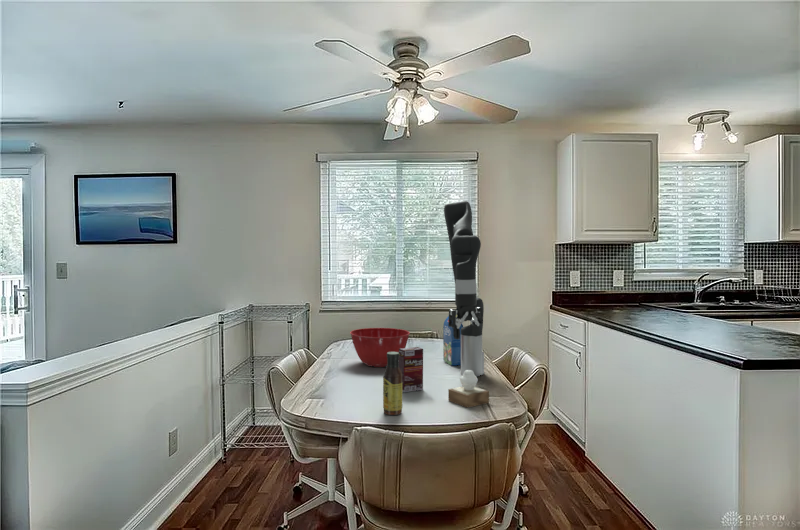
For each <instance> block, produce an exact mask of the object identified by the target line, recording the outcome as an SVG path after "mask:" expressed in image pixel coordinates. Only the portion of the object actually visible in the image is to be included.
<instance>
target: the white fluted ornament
mask: <svg viewBox="0 0 800 530" xmlns="http://www.w3.org/2000/svg"><path fill="white" fill-rule="evenodd" d="M478 379H479V378H478V376H475V375H474V372H473V371H472V370H465V371H464V374H463V375H462V374H461V376H460V377H459V381H460V384H461V385H462V386H461V387H463V388H464V389H465V390H473V389H474V387H476V385H477V383H478Z"/></svg>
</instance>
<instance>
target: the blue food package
mask: <svg viewBox="0 0 800 530" xmlns="http://www.w3.org/2000/svg"><path fill="white" fill-rule="evenodd" d="M456 316H457V315H456ZM448 322H449V315H448V316H447V317H446V318H445V319H444V322H443V326H442V327H443V333H442V334H443V336H442V337H443V340H442V341H443V342H442V343H443V346H442V347H443V351H442V352H443V355H442V356H443V358H442V359H443V361H444V363H446V364H448V365H450V366H451V367H453V366H457V365H458V366H461V328H462V327H464V325H463V323H462V324H461V325H460V327H459V329H460V339H455V338H454V336H453V327H449V326H448Z"/></svg>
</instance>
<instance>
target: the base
mask: <svg viewBox="0 0 800 530" xmlns="http://www.w3.org/2000/svg"><path fill="white" fill-rule="evenodd" d="M448 400H449V402H451V403H454V404H457V405H459V406H462V407H465V408H471V407H476V406H481V405H484V404H485V405H486V404H489V403H490V391H489V390H486V389H483V388H480V387H476V386H475V387H474V389H473V390H465V389H464V388H463V386H459V387H458V386H457V387H453V388H448Z"/></svg>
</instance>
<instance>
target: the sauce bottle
mask: <svg viewBox="0 0 800 530" xmlns="http://www.w3.org/2000/svg"><path fill="white" fill-rule="evenodd" d="M382 377H383V378H382V379H383V380H382V381H383V387H382V388H383V389H382V390H383V391H382V395H383V396H382V400H383V402H382V403H383V405H382V407H383V413H384V414H386V415H387V416H396V415H397V416H398V415H401V413H402V411H403V410H402V409H403V392H402V372H401V370H400V368H399V352H388V353H387V367H385V370H384V373H383V376H382Z"/></svg>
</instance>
